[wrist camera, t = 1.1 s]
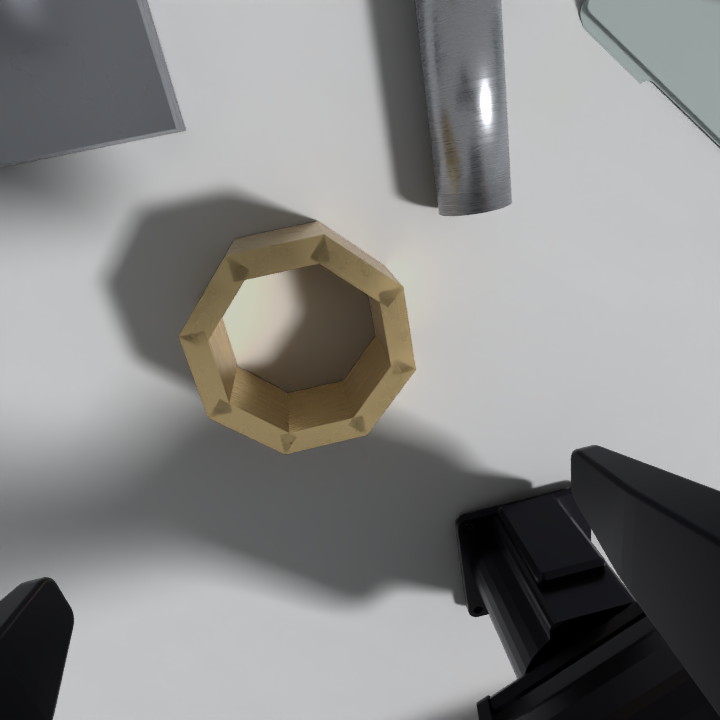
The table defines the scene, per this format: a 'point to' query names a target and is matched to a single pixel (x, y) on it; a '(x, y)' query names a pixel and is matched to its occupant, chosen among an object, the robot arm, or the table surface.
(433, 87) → the steel pin
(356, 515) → the table surface
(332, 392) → the collar ring
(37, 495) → the table surface
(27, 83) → the square base plate
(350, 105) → the table surface
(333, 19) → the table surface
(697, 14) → the metal bracket
